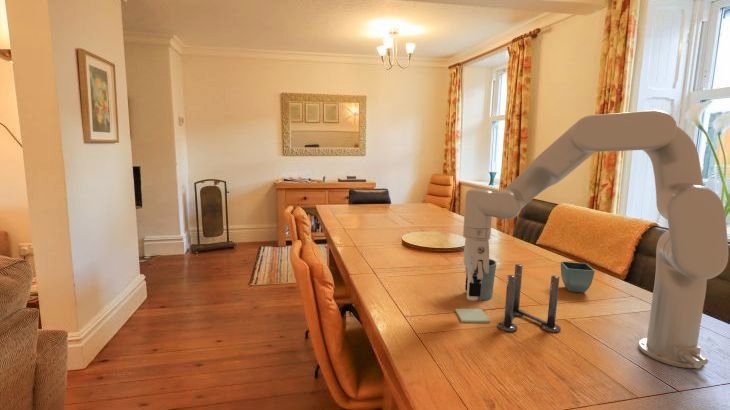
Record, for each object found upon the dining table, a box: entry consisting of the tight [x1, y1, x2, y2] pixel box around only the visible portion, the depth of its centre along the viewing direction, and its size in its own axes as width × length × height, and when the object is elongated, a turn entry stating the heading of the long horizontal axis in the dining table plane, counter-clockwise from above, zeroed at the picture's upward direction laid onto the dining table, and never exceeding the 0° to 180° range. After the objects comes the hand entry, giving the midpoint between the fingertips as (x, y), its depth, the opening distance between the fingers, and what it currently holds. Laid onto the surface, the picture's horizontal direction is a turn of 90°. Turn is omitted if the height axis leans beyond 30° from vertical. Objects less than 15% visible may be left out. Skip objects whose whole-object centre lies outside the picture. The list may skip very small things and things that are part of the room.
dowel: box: [466, 270, 479, 302], centre depth 113 cm, size 3×3×10 cm
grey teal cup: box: [465, 258, 498, 301], centre depth 130 cm, size 10×10×12 cm
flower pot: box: [560, 261, 596, 293], centre depth 136 cm, size 9×9×9 cm
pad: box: [455, 308, 491, 324], centre depth 114 cm, size 8×8×1 cm
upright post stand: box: [497, 263, 562, 334], centre depth 111 cm, size 15×17×15 cm
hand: (472, 292), depth 113 cm, fingers closed on dowel, 3 cm apart
